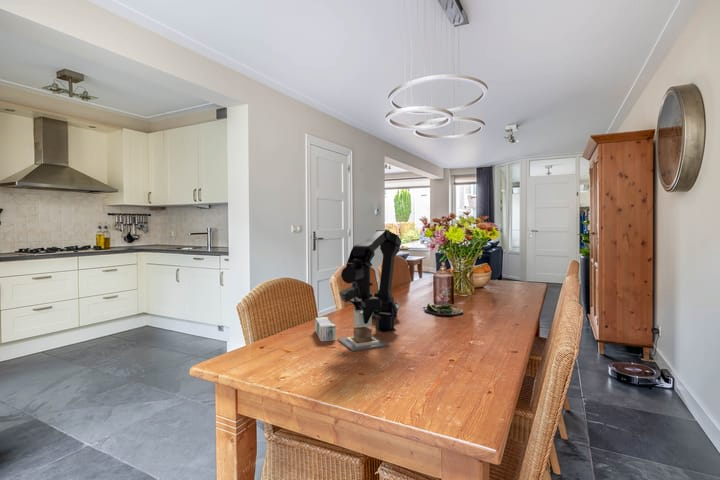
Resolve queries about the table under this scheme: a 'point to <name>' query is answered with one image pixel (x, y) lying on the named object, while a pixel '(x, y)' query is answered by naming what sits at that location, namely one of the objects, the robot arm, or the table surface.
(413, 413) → the table surface
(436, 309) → the salad plate
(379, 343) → the square panel
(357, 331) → the walnut block
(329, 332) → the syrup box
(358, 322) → the sage block
